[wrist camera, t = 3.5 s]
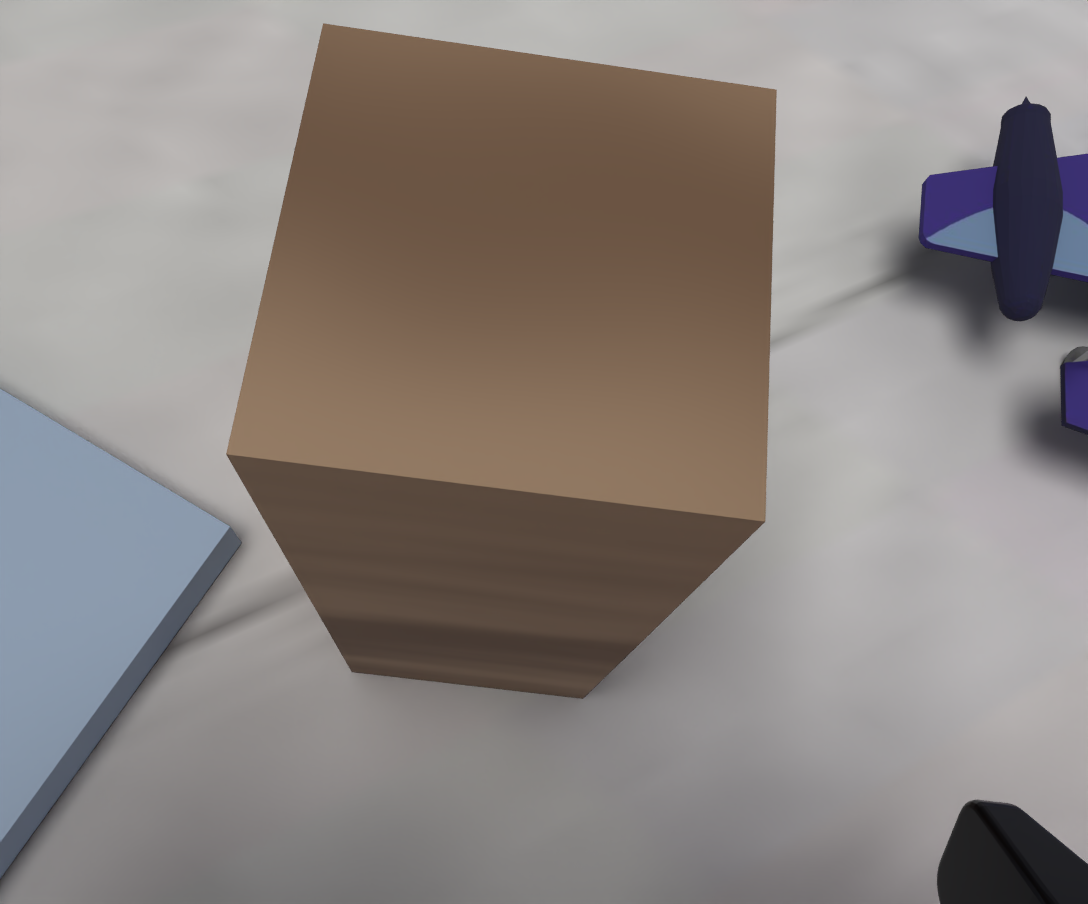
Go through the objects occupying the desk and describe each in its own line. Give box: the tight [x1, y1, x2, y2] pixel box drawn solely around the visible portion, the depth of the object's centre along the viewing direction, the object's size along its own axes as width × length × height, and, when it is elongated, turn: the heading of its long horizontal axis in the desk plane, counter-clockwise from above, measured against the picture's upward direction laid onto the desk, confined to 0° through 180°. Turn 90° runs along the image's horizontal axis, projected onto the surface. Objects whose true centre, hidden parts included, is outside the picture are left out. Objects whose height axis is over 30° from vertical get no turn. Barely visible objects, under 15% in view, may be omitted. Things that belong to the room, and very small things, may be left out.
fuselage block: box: [226, 24, 777, 699], centre depth 15 cm, size 5×5×12 cm
